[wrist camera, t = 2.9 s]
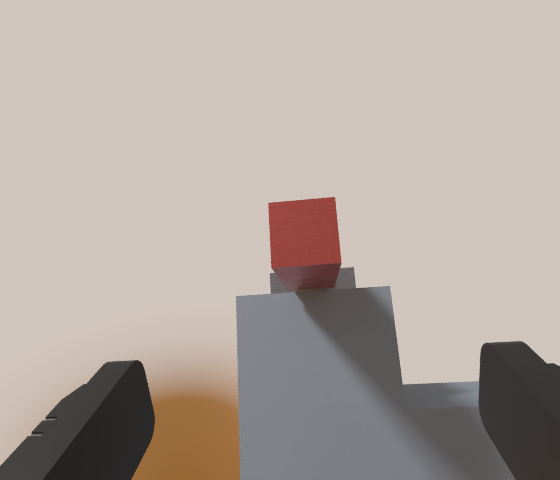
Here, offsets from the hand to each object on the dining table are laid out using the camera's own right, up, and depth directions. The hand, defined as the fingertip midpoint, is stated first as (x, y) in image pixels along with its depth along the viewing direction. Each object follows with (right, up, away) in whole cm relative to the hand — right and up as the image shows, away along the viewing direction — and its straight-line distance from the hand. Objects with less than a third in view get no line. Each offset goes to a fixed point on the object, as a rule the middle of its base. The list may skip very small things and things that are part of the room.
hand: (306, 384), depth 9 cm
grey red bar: (+2, -1, +19) cm, 19 cm away
